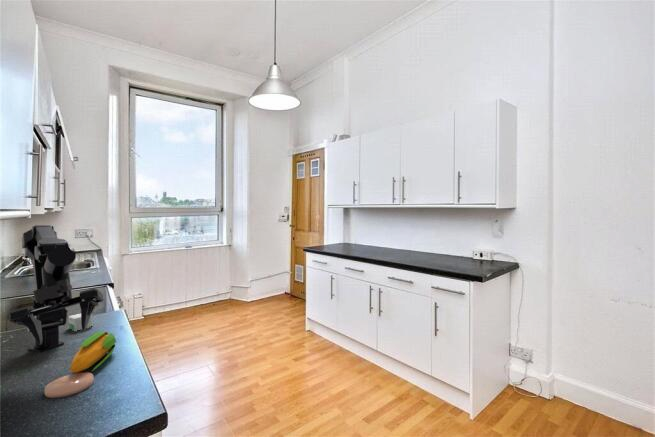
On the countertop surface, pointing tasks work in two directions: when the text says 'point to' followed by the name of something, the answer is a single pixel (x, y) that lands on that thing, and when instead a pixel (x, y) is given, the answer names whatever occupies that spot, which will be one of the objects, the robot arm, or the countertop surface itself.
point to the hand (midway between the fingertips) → (62, 336)
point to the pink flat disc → (68, 385)
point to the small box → (78, 322)
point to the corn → (93, 351)
